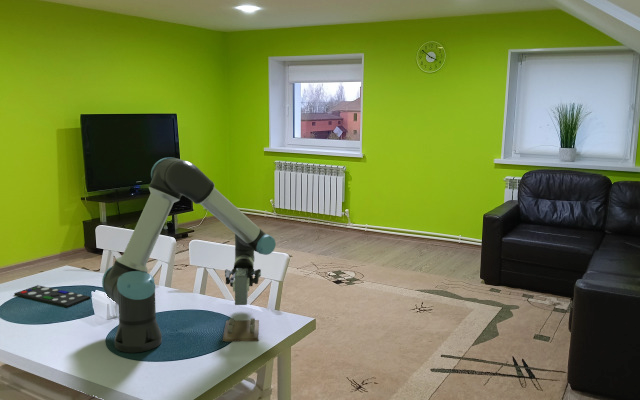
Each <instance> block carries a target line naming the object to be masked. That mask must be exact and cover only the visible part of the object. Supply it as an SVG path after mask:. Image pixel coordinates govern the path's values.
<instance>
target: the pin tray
mask: <svg viewBox="0 0 640 400" xmlns="http://www.w3.org/2000/svg"><path fill="white" fill-rule="evenodd" d="M259 326H260V320H259V319H256V318H255V317H252V318H250V319H247V320H246V319H245V320H244V319H238V320H237V319H236V320H235V319H234V318H231V317H230V318H229V319H228V320H226V321H225V326H224V330H223V336H222V342H223V341H225V342H259V334H260V333H259V331H260V327H259Z"/></svg>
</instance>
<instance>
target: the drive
mask: <svg viewBox="0 0 640 400" xmlns="http://www.w3.org/2000/svg"><path fill="white" fill-rule="evenodd" d="M247 278H248V268H236V273H235V292H234V305H235V306H247V305H248V295H249V293H248V292H249V291H247Z"/></svg>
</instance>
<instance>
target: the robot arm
mask: <svg viewBox="0 0 640 400" xmlns="http://www.w3.org/2000/svg"><path fill="white" fill-rule="evenodd" d="M150 178H151V182H150V183H149V186H148V189H149V192H150V194H149V197H148V199H147V201H146V203H145V206H144V207H143V210H142V212H141V214H140V217H138V218H139V219H138V221H137V222H136V226H135V227H134V230H133V232H132V235H131V236H130V239H129V241H128V243H127V245H126V248H125V249H124V251H123V254H122V255H121V256H120V257H117V258H116V259H115V261H114V263H113V265H112V266H111V267H109V268H107V270H106V271H105V272H104V274H103V276H102V280H101V285H102V290H103V291H104V292H105V293H106V294H107V296H108V297H109V298H111V299H112V300H113V301H115V302H116V303H115V304H117V306H118V307H117V308H118V326H117V328H116V329H117V330H116V332H115V337H114V338H113V339H114V348H115V349H116V350H117V351H118V352H119V351H120V352H122V353H129V354H130V353H131V354H132V353H133V354H134V353H142V352H147V351H150V350H153V349H155V348H157V347H159V346H160V345H161V344H162V341H163V335H162V332H161V328H160V326H159V323H158V322H157V318H156V317H157V316H156V315H157V314H156V313H157V312H156V311H157V310H156V283H155V278H154V276H153V275H152V274H150V273H148V272H149V269H148V267H147V263H148V261H149V259H150V256H151V254H152V252H153V250H154V247H155V246H156V243H157V241H158V239H159V236H160V234H161V232H162V229H163V227H164V225H165V223H166V221H167V220H168V216H169V214H170V212H171V210H172V208H173V205H174V203H177V202H179V201H180V200H181V198H182V196H184V197H185V198H187V199H189V200H190V201H192V202H193V203H194V204H196V205H201V207H203V208H205V209H206V211H208V212H209V213H210V214H212V215H213V216H214V218H216V219H217V220H218V221H220V222H221V224H223V225H224V226H226V227H227V228H228V229H229V230H230V231H231V232H233V233H234V245H235V247H234V248H235V249H234V264H233V268H232V269H231V270H229V269H225V270H224V277H225V285H230V287H231V288H232V292H234V293H235V273H236V268H248V278H247V291H248V292H249V291H250V287H253V285H258V284H259V280H260V277H261V276H262V269H261V268H260V269H254V267H255V266H254V265H255V264H254V263H255V252H257V253H258V254H260V255H265V256H267V255H270V254H272V253H273V252H274V251H275V249H276V243H277V242H276V240H275V238H274V237H273V236H271V235H270V234H267V233H266V232H264V231H263V230H262V229H261V228H260V227H259V226H258V225H256V223H254V222H253V221H252V220H251V219H250V218H249V216H247V215H246V214H244V213H243V212H242V211H241V210H240V209H239V208H238V207H237V206H236V205H234V204H233V203H232V202H231V201H230V200H229V199H228V198H227V197H225V195H223V194H222V193H221V192H220V191H219V190H218V189H217V188H216V187H215V182H213V181H212V180H211V179H210V177H208V176H207V174H205V173H204V172H203V171H201V169H200V168H198V166H196V165H195V164H194V163H193V162H190V161H188V160H183V159H181V158H176V157H164V158H161V159H159V160H158V161H156V162H155V163H154V164H153V166H152V168H151V171H150ZM231 275H232V276H231ZM108 297H107V298H108ZM109 298H108V299H109Z"/></svg>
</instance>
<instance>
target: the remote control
mask: <svg viewBox="0 0 640 400" xmlns="http://www.w3.org/2000/svg"><path fill="white" fill-rule="evenodd" d="M14 296H16V297H20V298H24V299H29V300H34V301H39V302H42V303H46V304H51V305H56V306H60V307H64V308H70V307H74V306H76V305H78V304H80V303H83V302H85V301H88V300H91V296H90V295H85V294H81V293H76V292H72V291H71V292H70V291H68V290H62V289H58V288H52V287H47V286H44V285H38V284H37V285H35V286H34V285H33V286H31V287H28V288H26V289H24V290H23V289H22V290H19V291H16V292H14Z"/></svg>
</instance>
